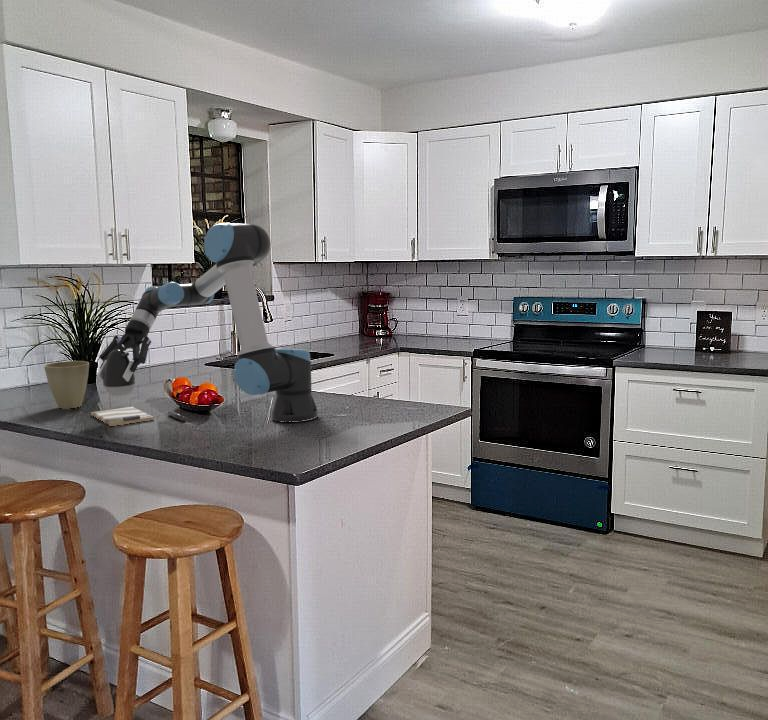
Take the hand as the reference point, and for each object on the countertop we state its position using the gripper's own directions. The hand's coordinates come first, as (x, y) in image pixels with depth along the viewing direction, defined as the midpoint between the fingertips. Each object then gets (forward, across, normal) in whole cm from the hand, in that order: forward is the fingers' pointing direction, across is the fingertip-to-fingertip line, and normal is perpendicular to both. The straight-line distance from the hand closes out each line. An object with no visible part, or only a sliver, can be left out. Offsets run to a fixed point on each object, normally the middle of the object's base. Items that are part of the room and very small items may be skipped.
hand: (112, 378), depth 244 cm
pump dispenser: (+2, 0, -7) cm, 7 cm away
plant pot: (+1, +30, -20) cm, 36 cm away
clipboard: (+8, 0, -12) cm, 14 cm away
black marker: (+5, -19, -15) cm, 25 cm away
